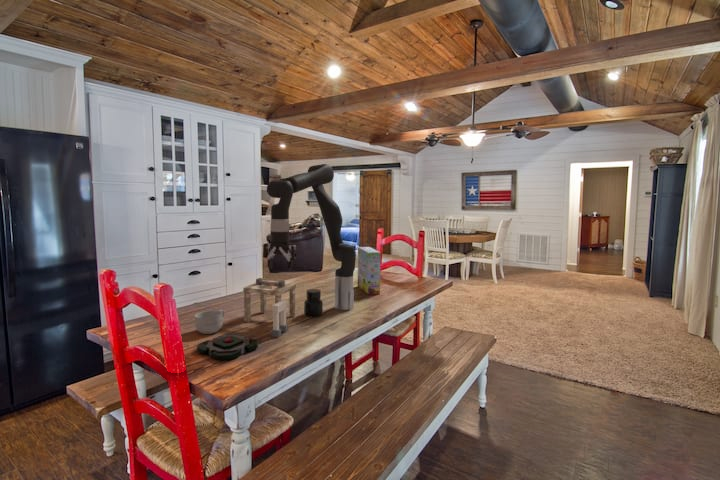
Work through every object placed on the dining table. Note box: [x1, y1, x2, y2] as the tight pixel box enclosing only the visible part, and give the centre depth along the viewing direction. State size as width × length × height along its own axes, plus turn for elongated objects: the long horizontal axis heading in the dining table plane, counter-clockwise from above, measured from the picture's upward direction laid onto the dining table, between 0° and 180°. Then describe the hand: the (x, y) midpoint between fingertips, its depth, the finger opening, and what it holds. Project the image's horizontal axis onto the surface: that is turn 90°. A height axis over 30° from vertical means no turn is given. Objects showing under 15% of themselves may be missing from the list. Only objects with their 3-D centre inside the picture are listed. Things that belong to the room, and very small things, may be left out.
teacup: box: [194, 309, 225, 335], centre depth 162 cm, size 14×11×8 cm
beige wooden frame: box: [242, 277, 297, 324], centre depth 178 cm, size 18×16×19 cm
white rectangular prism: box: [270, 299, 289, 338], centre depth 160 cm, size 8×4×13 cm, turn 163°
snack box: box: [357, 246, 382, 295], centre depth 235 cm, size 22×9×26 cm, turn 17°
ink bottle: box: [303, 288, 324, 318], centre depth 186 cm, size 10×9×12 cm
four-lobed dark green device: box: [196, 333, 259, 361], centre depth 143 cm, size 18×18×5 cm
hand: (279, 269), depth 157 cm, fingers open, 8 cm apart
